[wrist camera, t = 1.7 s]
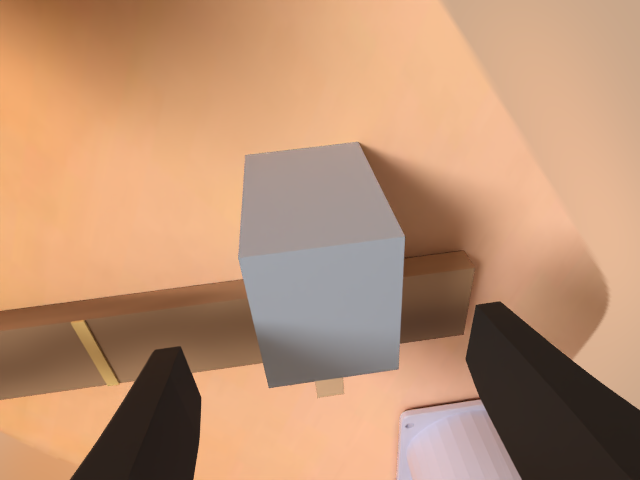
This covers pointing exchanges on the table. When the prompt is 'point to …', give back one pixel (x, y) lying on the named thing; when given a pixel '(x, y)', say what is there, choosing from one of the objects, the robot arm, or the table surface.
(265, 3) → the table surface
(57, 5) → the table surface
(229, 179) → the table surface
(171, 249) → the table surface
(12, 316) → the board
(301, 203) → the grey tall block
